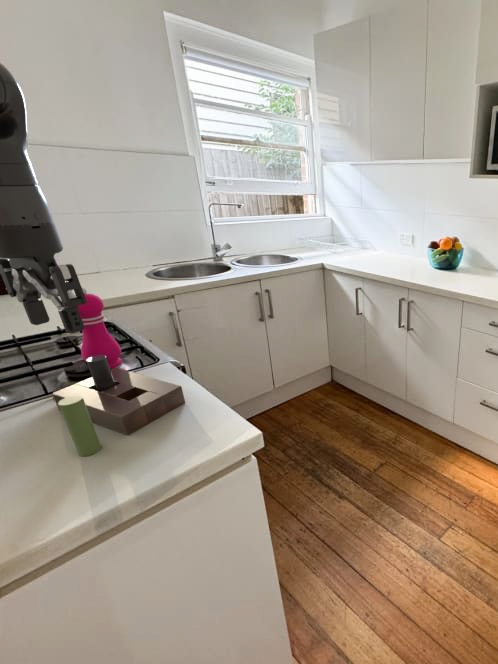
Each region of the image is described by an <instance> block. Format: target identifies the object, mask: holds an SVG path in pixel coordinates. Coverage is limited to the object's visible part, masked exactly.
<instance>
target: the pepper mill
mask: <svg viewBox="0 0 498 664" xmlns="http://www.w3.org/2000/svg"><path fill="white" fill-rule="evenodd" d="M81 287H82V290H83V292H84V295H85V298H86V300H87V303H86V304H82V305H80V306H78V310H79V313H80V315H81V318H82V321H83V324H84V327H85V328H84V330H82V331H81V332H82V343H81V347H80V354H81V358H82V360H83V361H84V362H86V363H87V361H86V360H87V359H88V358H90V357H93V356H98V355H104V356H106V358H107V361H108V364H109V367H110V369H113V368H117V367H119V366H121V364H122V363H123V359H122V358H120V356H121V355H122V348H121V346H120V344H119V343H118V341H117V340H116V339H115V338H114V336H112V335H111V334H110V332H109V331H108V330H107V328H106V325H105V320H106V318H105V314H104V313H103V310H104V308H105V304H104V301H103V300H102V298H101V297H99V296H98V295H97V294H94V293H87V292H88V291H87V289H86V288H85V287H83V286H81ZM74 295H75V297H76V294H74Z"/></svg>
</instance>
